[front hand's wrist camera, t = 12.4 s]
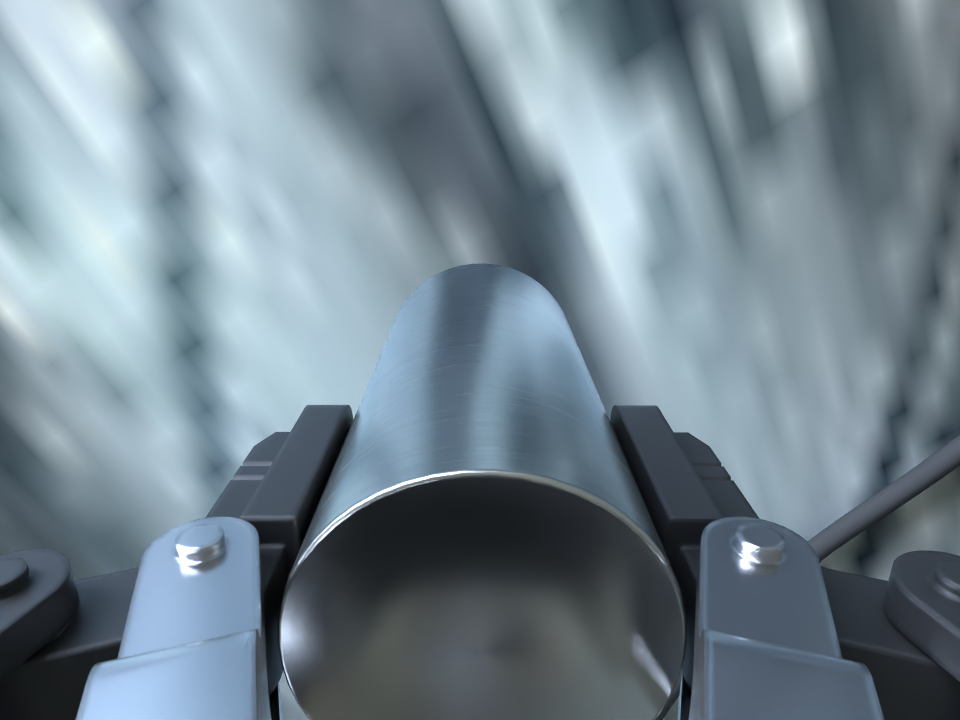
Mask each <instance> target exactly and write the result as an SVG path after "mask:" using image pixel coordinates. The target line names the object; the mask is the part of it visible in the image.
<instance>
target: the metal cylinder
mask: <svg viewBox="0 0 960 720" xmlns="http://www.w3.org/2000/svg"><path fill="white" fill-rule="evenodd" d="M686 642H687V616H686V608H685V604H684V600H683V595H682V591H681V588H680V586H679V583H678V581H677V578H676V576H675V574H674V571H673V569H672V566H671V564H670V562H669V559H668V557H667V555H666V552H665V550H664V548H663V545H662V543H661V540H660V538H659V536H658V533H657V531H656V529H655V526H654V524H653V522H652V519H651V517H650V515H649V512H648V510H647V508H646V505H645V503H644V501H643V498H642V496H641V494H640V491H639V489H638V486H637V484H636V482H635V479H634V477H633V475H632V472H631V470H630V468H629V465H628V463H627V461H626V458H625V456H624V454H623V451H622V449H621V447H620V444H619V442H618V440H617V437H616V435H615V432H614V430H613V428H612V425H611V423H610V421H609V418H608V416H607V414H606V411H605V409H604V407H603V404H602V402H601V400H600V397H599V395H598V393H597V390H596V388H595V386H594V383H593V381H592V378H591V376H590V374H589V371H588V369H587V367H586V364H585V362H584V360H583V357H582V355H581V353H580V350H579V348H578V346H577V343H576V341H575V339H574V336H573V334H572V331H571V329H570V327H569V324H568V322H567V320H566V317H565V315H564V313H563V311H562V309H561V308H560V306H559V304H558V303H557V301H556V300H555V299H554V298H553V296H552V295H551V294H550V293H549V292H548V291H547V290H546V289H545V288H544V287H543V286H542V285H541V284H539V283H538V282H536V281H535V280H534V279H532V278H531V277H529V276H527V275H525V274H523V273H521V272H519V271H516V270H514V269H511V268H508V267H504V266H500V265H493V264H469V265H462V266H458V267H454V268H451V269H448V270H445V271H443V272H441V273H439V274H436V275H435V276H433V277H431V278H430V279H428V280H426V281H425V282H424V283H423V284H421V285H420V286H419V287H418V288H417V289H416V290H415V291H414V292H413V293H412V294H411V295H410V296H409V297H408V299H407V300H406V301H405V303H404V304H403V305H402V307H401V309H400V311H399V313H398V315H397V317H396V319H395V321H394V324H393V326H392V329H391V331H390V333H389V336H388V338H387V341H386V343H385V345H384V348H383V350H382V353H381V355H380V358H379V360H378V362H377V365H376V367H375V370H374V372H373V374H372V377H371V379H370V382H369V384H368V386H367V389H366V391H365V394H364V396H363V399H362V401H361V403H360V406H359V408H358V411H357V413H356V415H355V418H354V420H353V423H352V425H351V428H350V430H349V432H348V435H347V437H346V440H345V442H344V444H343V447H342V449H341V452H340V454H339V456H338V459H337V461H336V464H335V466H334V469H333V471H332V473H331V476H330V478H329V481H328V483H327V485H326V488H325V490H324V493H323V495H322V497H321V500H320V502H319V505H318V507H317V510H316V512H315V514H314V517H313V519H312V522H311V524H310V526H309V529H308V531H307V534H306V536H305V538H304V541H303V543H302V546H301V548H300V551H299V553H298V555H297V558H296V560H295V563H294V565H293V567H292V570H291V572H290V575H289V577H288V580H287V583H286V586H285V589H284V592H283V594H282V597H281V603H280V608H279V614H278V646H279V652H280V658H281V664H282V667H283V670H284V673H285V676H286V679H287V682H288V685H289V687H290V689H291V691H292V693H293V695H294V697H295V699H296V701H297V703H298V704H299V706H300V707H301V708H302V710H303V711H304V713H305V714H306V716H307V717H308V718H309V720H655V719H656V718H657V716H658V715H659V714H660V712H661V711H662V709H663V707H664V706H665V704H666V703H667V701H668V700H669V698H670V696H671V694H672V692H673V690H674V688H675V685H676V683H677V681H678V679H679V676H680V672H681V669H682V665H683V661H684V658H685V651H686Z"/></svg>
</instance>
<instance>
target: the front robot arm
mask: <svg viewBox="0 0 960 720" xmlns="http://www.w3.org/2000/svg"><path fill="white" fill-rule="evenodd" d="M352 423H353V415H352V410H351V407H350V406H349V405H307V406H306V407H305V409H304V410H303V412H302V414H301V415H300V417H299V419H298V420H297V422H296V424H295V425H294V427H293V429H292V430H291V432H275V433H274V434H272V435H271V436H269V437H267V438H266V439H264V440H263V441H261V442H260V443H258V444H257V445H255V446H254V447H253V449H252V450H251V452H250V453H249V455H248V456H247V458H246V459H245V460H244V462H243V466H240V468H239V469H238V471H237V472H236V474H235V475H234V480H231V481H230V483H229V484H228V485H227V487H226V488H225V490H224V491H223V493H222V494H221V496H220V497H219V499H218V500H217V502H216V503H215V505H214V506H213V508H212V509H211V510H210V512H209V513H208V515H207V516H206V518H203V519H198V520H194V521H190V522H187V523H184V524H182V525H179V526H177V527H175V528H173V529H171V530H168V531H167V532H165V533H164V534H162V535H160V536H159V537H158V538H156V539H155V540H154V541H153V542H152V543H151V544H150V545H149V546H148V547H147V549H146V550H145V552H144V553H143V556H142V558H141V563H140V567H137V568H134V569H130V570H126V571H121V572H116V573H111V574H106V575H101V576H96V577H91V578H86V579H81V580H76V581H74V577H73V573H72V569H71V565H70V562H69V560H68V558H67V557H66V556H65V555H63V554H62V553H60V552H57V551H54V550H48V549H28V550H21V551H15V552H11V553H7V554H3V555H0V720H282V706H281V695H280V687H279V680H280V678H281V675H282V672H283V667H282V664H281V658H280V652H279V646H278V614H279V608H280V603H281V597H282V594H283V592H284V589H285V586H286V583H287V580H288V577H289V575H290V572H291V570H292V567H293V565H294V563H295V560H296V558H297V555H298V553H299V551H300V548H301V546H302V543H303V541H304V538H305V536H306V534H307V531H308V529H309V526H310V524H311V522H312V519H313V517H314V514H315V512H316V510H317V507H318V505H319V502H320V500H321V497H322V495H323V493H324V490H325V488H326V485H327V483H328V481H329V478H330V476H331V473H332V471H333V469H334V466H335V464H336V461H337V459H338V456H339V454H340V452H341V449H342V447H343V444H344V442H345V440H346V437H347V435H348V432H349V430H350V428H351V425H352ZM610 423H611V425H612V428H613V430H614V432H615V435H616V437H617V440H618V442H619V444H620V447H621V449H622V451H623V454H624V456H625V458H626V461H627V463H628V465H629V468H630V470H631V472H632V475H633V477H634V479H635V482H636V484H637V486H638V489H639V491H640V494H641V496H642V498H643V501H644V503H645V505H646V508H647V510H648V512H649V515H650V517H651V519H652V522H653V524H654V526H655V529H656V531H657V533H658V536H659V538H660V540H661V543H662V545H663V548H664V550H665V552H666V555H667V557H668V559H669V562H670V564H671V566H672V569H673V571H674V574H675V576H676V578H677V581H678V583H679V586H680V588H681V591H682V595H683V600H684V604H685V608H686V616H687V642H686V651H685V658H684V661H683V665H682V669H681V672H680V676H679V679H678V681H677V683H676V685H675V688H674V690H673V692H672V694H671V696H670V698H669V700H668V701H667V703H666V704H665V706H664V707H663V709H662V711H661V712H660V714H659V715H658V716H657V718H656V719H655V720H663V718H664V717H665V715H666V714H667V712H668V711H669V709H670V708H671V706H672V705H673V704H674V702H675V701H676V699H677V698H678V697H679V706H678V720H960V556H957V555H953V554H949V553H943V552H936V551H913V552H908V553H905V554H902V555H901V556H899V557H898V558H897V559H896V560H895V561H894V563H893V566H892V570H891V573H890V577H889V581H885V580H880V579H875V578H870V577H865V576H860V575H855V574H850V573H845V572H840V571H836V570H832V569H828V568H825V567H822V566H820V563H819V562H820V561H822V560H823V559H824V558H826V557H827V556H828V555H830V554H831V553H833V552H834V551H835V550H837V549H838V548H839V547H841V546H842V545H844V544H845V543H847V542H848V541H849V540H851V539H852V538H854V537H855V536H857V535H858V534H860V533H861V532H863V531H864V530H866V529H867V528H869V527H870V526H872V525H873V524H875V523H876V522H878V521H879V520H881V519H882V518H884V517H885V516H887V515H888V514H890V513H891V512H893V511H894V510H896V509H897V508H899V507H900V506H902V505H903V504H905V503H906V502H908V501H909V500H911V499H912V498H914V497H915V496H917V495H918V494H920V493H921V492H923V491H924V490H926V489H927V488H929V487H930V486H931V485H933V484H934V483H936V482H937V481H939V480H940V479H942V478H943V477H944V476H946V475H947V474H949V473H950V472H951V471H953V470H954V469H956V468H957V467H958V466H960V435H959V436H957V437H956V438H954V439H953V440H952V441H950V442H949V443H948V444H946V445H945V446H944V447H942V448H941V449H939V450H938V451H937V452H935V453H934V454H933V455H931V456H930V457H929V458H927V459H926V460H924V461H923V462H922V463H920V464H919V465H917V466H916V467H915V468H913V469H912V470H910V471H909V472H907V473H906V474H904V475H903V476H902V477H900V478H899V479H897V480H896V481H894V482H893V483H891V484H890V485H888V486H887V487H885V488H884V489H882V490H881V491H880V492H878V493H877V494H875V495H874V496H872V497H871V498H869V499H868V500H866V501H865V502H863V503H862V504H860V505H859V506H857V507H856V508H854V509H853V510H851V511H850V512H848V513H847V514H845V515H844V516H843V517H841V518H840V519H838V520H837V521H835V522H834V523H832V524H831V525H830V526H828V527H827V528H826V529H824V530H823V531H821V532H820V533H819V534H817V535H816V536H815V537H813V538H812V539H811V540H809V541H808V542H807V541H806V540H805V539H804V538H802V537H801V536H800V535H798V534H796V533H795V532H793V531H792V530H789V529H787V528H785V527H783V526H781V525H778V524H776V523H773V522H770V521H766V520H762V519H759V517H758V516H757V514H756V513H755V512H754V510H753V509H752V507H751V506H750V504H749V503H748V501H747V500H746V499H745V497H744V496H743V494H742V493H741V491H740V490H739V488H738V487H737V485H736V484H735V483H734V481H731V477H730V475H729V474H728V472H727V471H726V470H725V468H724V467H721V462H720V461H719V459H718V458H717V457H716V455H715V454H714V452H713V451H712V449H711V448H710V447H709V446H708V445H706V444H705V443H703V442H702V441H700V440H699V439H697V438H696V437H694V436H692V435H691V434H689V433H673V431H672V429H671V428H670V426H669V424H668V423H667V421H666V419H665V418H664V416H663V414H662V413H661V411H660V409H659V408H658V407H657V406H614V407H613V409H612V412H611V418H610Z"/></svg>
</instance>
